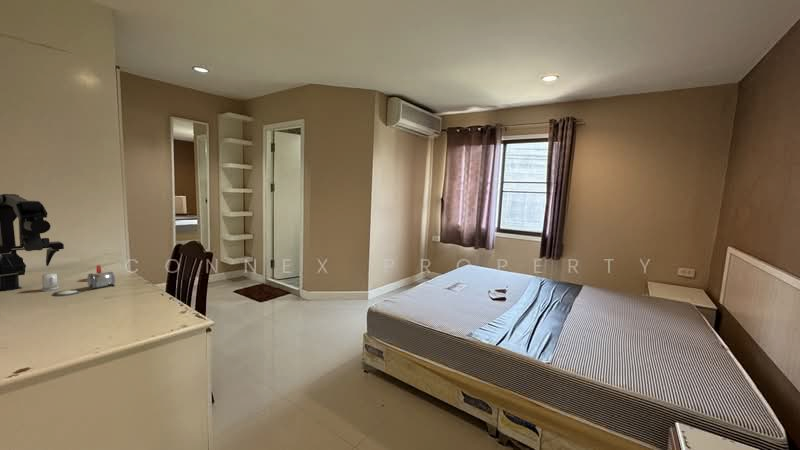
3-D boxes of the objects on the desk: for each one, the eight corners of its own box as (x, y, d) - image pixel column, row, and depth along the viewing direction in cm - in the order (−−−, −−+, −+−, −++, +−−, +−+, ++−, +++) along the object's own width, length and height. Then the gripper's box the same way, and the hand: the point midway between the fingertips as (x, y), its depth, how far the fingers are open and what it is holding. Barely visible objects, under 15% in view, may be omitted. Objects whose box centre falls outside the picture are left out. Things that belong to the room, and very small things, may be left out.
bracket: (87, 280, 164) (87, 265, 163) (99, 278, 167) (99, 264, 166) (90, 285, 156) (89, 269, 155) (103, 283, 159) (102, 268, 158)
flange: (50, 293, 141) (50, 292, 141) (78, 288, 149) (78, 287, 149) (56, 297, 137) (56, 296, 137) (84, 292, 144) (84, 291, 144)
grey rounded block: (87, 287, 152) (86, 272, 151) (108, 284, 158) (108, 269, 158) (93, 290, 147) (93, 275, 147) (115, 287, 154) (115, 272, 153)
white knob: (40, 289, 146) (39, 274, 145) (56, 287, 150) (56, 272, 150) (43, 292, 143) (42, 276, 142) (60, 289, 147) (59, 274, 147)
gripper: (-3, 234, 121) (-1, 274, 122) (66, 231, 137) (68, 267, 138) (-8, 231, 127) (-6, 269, 128) (59, 228, 142) (60, 262, 144)
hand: (31, 267), depth 134 cm, fingers open, 9 cm apart
